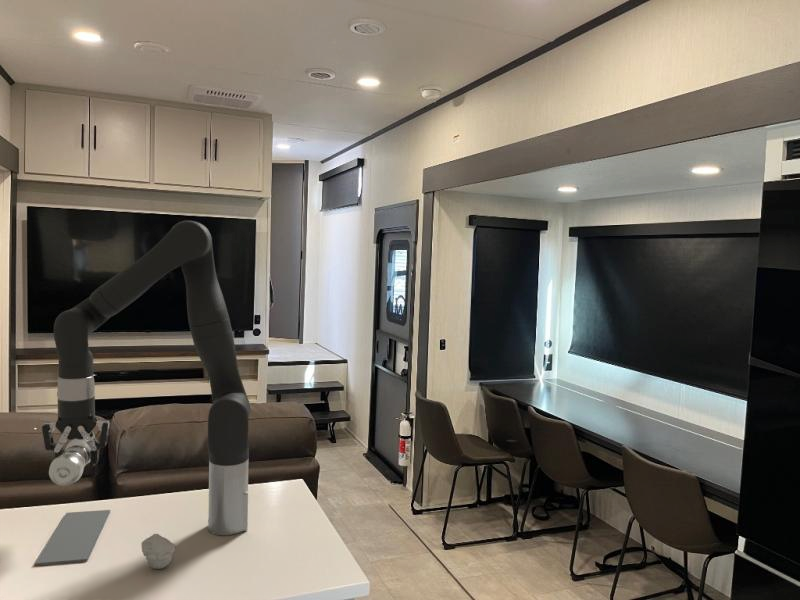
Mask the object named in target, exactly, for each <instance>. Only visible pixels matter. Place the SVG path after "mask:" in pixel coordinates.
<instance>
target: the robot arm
mask: <svg viewBox="0 0 800 600" xmlns="http://www.w3.org/2000/svg"><path fill="white" fill-rule="evenodd" d="M213 247H214V246H213V237H212V235H211V233H210V231H209V229H208V228H207V227H206V225H204V224H202V223H200V222H198V221H195V220H182V221H179V222H177V223H176V224H174V225H173V226H172V227H171V229H170V230H169V231H168V232H167V233H166V234H165V235H164V236H163V237H162V238H161V239H160V240H159V241H158V242H157V244H155V245H154V246H153V247H152V248H150V250H149V251H148V252H146V253H145V254H144V255H143V256H141V257H140V258H139V259H138V260H136V261H134V262H133V263H132V264H130V265H129V266H127V267H125V268H124V269H123V270H121V271H120V272H119V273H118V272H117V274H115V275H114V276H112V277H111V278H110V279H108V280H107V281H105V282H104V283H102V284H101V285H100V286H98V287H97V288H96V289H95V290H94V291H93V292H92V293H90V296H89V297H87V298H85V299H84V300H83V301H81V302H80V303H78V304H77V305H75V306H74V307H72V308H70V309H68V310H64V311H62V312H61V313H60V314H58V316H57V317H56V318H55V321H54V324H53V338H54V342H55V343H54V344H55V347H56V348H55V349H56V352H57V356H58V380H57V388H56V389H57V392H56V397H57V420H56V421H54V422H49V421H46V422H45V423H43V425H42V426H41V429H42V430H41V432H42V436H43V438H42V439H43V442H44V449H45V450H46V451H51V452H52V451H53V452H54V459H55V458H57V457H59V456H60V455H62V454H63V453H64V452H65V449H63V448H64V445H66V444H65V443H66V442H67V440H68V441H69V440H70V441H72V440H74V439H84V440H85V442H86V443H87V444H88V445H89V447H90V448H91V451H90V462H89V463H90V467H95V466H96V465H97V463H98V462H99V460H100V459H99V458H100V454H99V452H100V449H103V448H106V445H107V444H108V441H109V435H110V434H109V433H110V426H111V425H110V424H111V421H110V420H109V419H106V420H98V419H97V418H96V405H95V404H96V393H95V391H96V387H95V386H96V383H95V378H94V356H93V353H92V352H91V350H90V349H89V335H91V334H92V333H93V332H94V331H96V330H97V329H98V328H100V327H102V325H104V324H105V323H106V322H107V321H108V320H109V319H111V318H112V317H114V316H116V315H117V314H119V313H120V312H121V311H122V310H124V309H125V308H127V307H128V306H130V305H131V304H132V303H133V302H135V301H136V300H138V299H139V298H140V297H141V296H142V295H143V294H145V293H146V292H147V291H148V290H149V289H150V288H151V287H153V285H154V284H155V283H157V282H159V280H161V279H162V278H163V277H165V276H166V275H167V274H169V273H170V272H172V271H173V270H176V269H178V268H179V267H181V270H182V273H183V277H184V282H185V289H186V291H185V292H186V309H187V311H186V313H187V320H188V326H189V330H190V333H191V339H192V342H193V345H194V348H195V351H196V353H197V355H198V357H199V359H200V362H201V363H202V365H203V367H204V370H205V371H206V373H207V377H208V381H209V386H210V392H211V402H212V405H211V406H210V409H209V411H208V416H207V450H208V456H209V457H208V463H209V464H208V469H209V470H208V519H207V523H208V525H207V527H208V528H207V529H208V532H210V533H211V534H214V535H217V536H232V535H235V534H238V533H239V534H240V533H241V532H244V531H245V532H246V531H248V524H249V523H248V521H249V519H248V518H249V517H248V516H249V513H248V512H249V460H250V459H249V457H250V456H249V455H250V449H249V417H250V414H251V403H250V401H249V397H248V395H247V392H246V390H245V387H244V384H243V381H242V377H241V375H240V374H241V373H240V371H239V365H238V359H237V351H236V345H235V340H234V334H233V329H232V328H233V327H232V325H231V319H230V316H229V312H228V308H227V305H226V301H225V298H224V295H223V292H222V289H221V286H220V283H219V280H218V276H217V272H216V266H215V258H214V250H213V249H214V248H213ZM96 426H97V427H98V430H99V431H100V437H99V438H100V439H99V441H98V440H97V438H96V436H95V434H94V432H93V430H94V429H95V427H96ZM55 428H56V429H57V430H58V431H59V432H60V433H61V436H60V438H59V440H58V441H57V443H56V442H55V441H54V431H55Z"/></svg>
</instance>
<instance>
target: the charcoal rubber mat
mask: <svg viewBox="0 0 800 600" xmlns="http://www.w3.org/2000/svg"><path fill="white" fill-rule="evenodd" d="M110 514H111V509H104V510H103V509H101V510H89V511H74V512H72V511H70V512H65V515H64V516H63V518H62V519H61V521H60V522H59V524H58V526H57V528H56V529H55V530H54V532H53V533H52V535H51V537H50V538H49V541H48V542H47V543H46V545H45V547H44V548H43V550H42V552H41V553H40V554H39V557H38V558H37V560H36V561H35V563H34V566H35V567H39V566H51V565H64V564H73V563H86V562H88V560H89V559H90V556H91V555H92V552H93V550H94V548H95V546H96V544H97V541H98V539H99V537H100V535H101V533H102V531H103V528H104V526H105V524H106V522H107V519H108V518H109V515H110Z"/></svg>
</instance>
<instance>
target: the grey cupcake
mask: <svg viewBox="0 0 800 600" xmlns="http://www.w3.org/2000/svg"><path fill="white" fill-rule="evenodd" d="M175 549H176V546H175V544H174V543H173V542H172V541H170V540H169V539H168V538H166V537H164V536H162V535H161V534H159V533H153V534H152V535H151V536H149V537H146V538H145V539H144V540H143V541H142V542H141V552H142V554H143V556H144V557H145V559H146V561H147V564H148V565H149V566H150V567H151V568H153V569H154V570H162V569H164V568H166V567H167V566H169V564H170V563H171V562H172V559H173V554H174V552H175Z"/></svg>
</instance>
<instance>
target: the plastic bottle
mask: <svg viewBox="0 0 800 600" xmlns="http://www.w3.org/2000/svg"><path fill="white" fill-rule="evenodd" d="M90 451H91V448H90V447H89V445H88V444H87V443H86V442H85V440H84V439H72V440H70V441H69V442H68V444H66V447H65V449H64V453H63V454H62V455H60V456H59V457H57V458H55V457H54V459H53V460H52V461H51V464H50V466H49V469H48V475H49V478H50V480H51V481H52V482H53V483H54V484H56V485H58V486H65V487H66V486H70V485H73V484H74V483H76V482H77V481H79V480H80V478H82V475H83V473H84V469H85V467H86V465H88V464H89V463H90Z"/></svg>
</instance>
